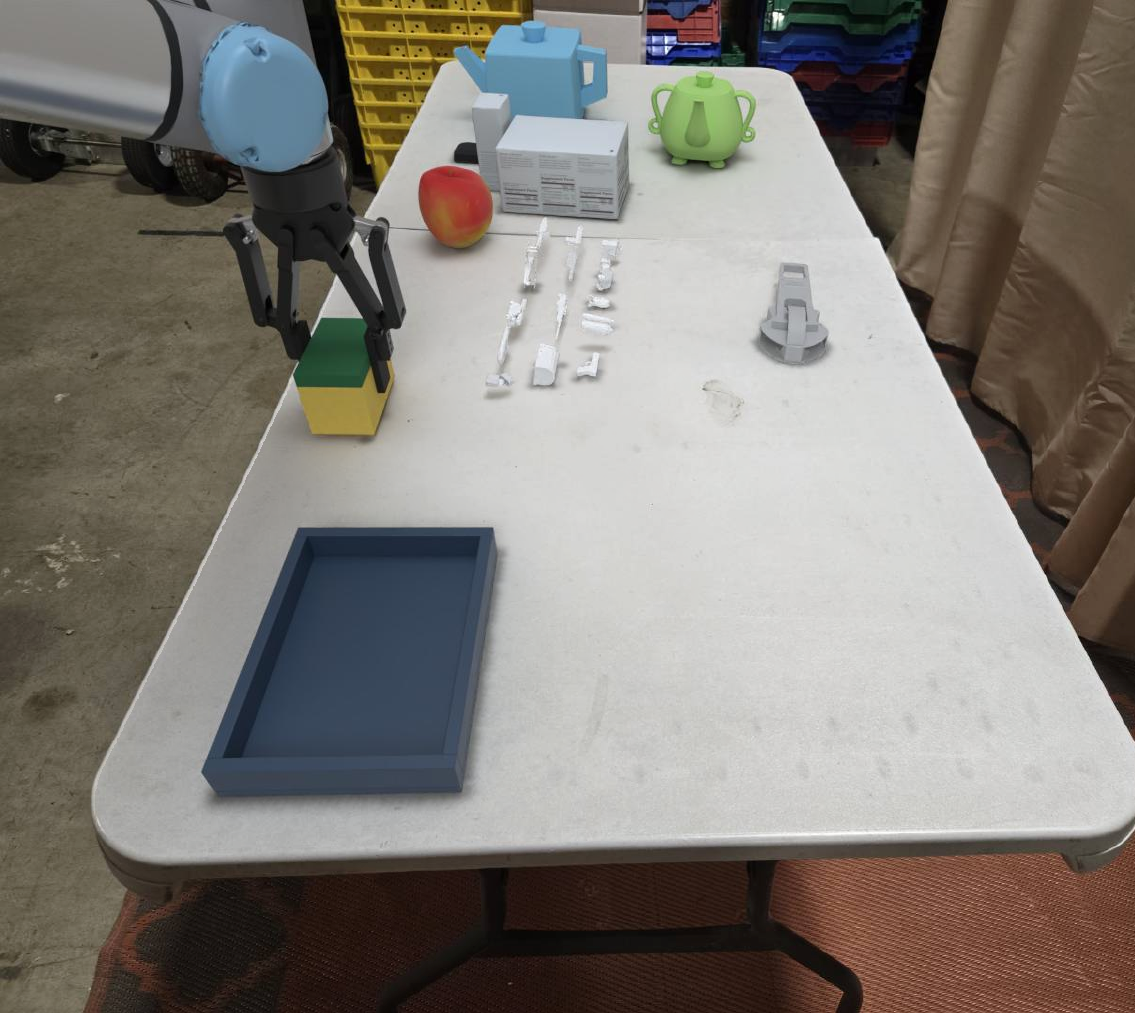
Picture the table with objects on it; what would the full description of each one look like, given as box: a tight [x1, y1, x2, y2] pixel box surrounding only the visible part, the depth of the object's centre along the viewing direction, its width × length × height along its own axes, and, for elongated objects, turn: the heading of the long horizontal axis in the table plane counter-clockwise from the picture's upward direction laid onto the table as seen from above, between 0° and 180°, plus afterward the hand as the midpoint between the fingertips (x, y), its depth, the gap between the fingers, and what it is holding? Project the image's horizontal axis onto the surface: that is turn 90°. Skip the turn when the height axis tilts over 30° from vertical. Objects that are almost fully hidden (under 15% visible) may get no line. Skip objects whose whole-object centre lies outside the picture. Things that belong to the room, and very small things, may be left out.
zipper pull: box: [757, 261, 830, 365], centre depth 101 cm, size 8×18×4 cm, turn 175°
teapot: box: [647, 70, 757, 169], centre depth 133 cm, size 16×14×13 cm
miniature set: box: [485, 217, 623, 389], centre depth 100 cm, size 6×35×12 cm
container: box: [452, 20, 609, 122], centre depth 141 cm, size 17×25×15 cm
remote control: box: [453, 141, 479, 164], centre depth 133 cm, size 5×2×15 cm
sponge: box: [292, 317, 395, 436], centre depth 83 cm, size 10×6×7 cm, turn 2°
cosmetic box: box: [471, 92, 511, 192], centre depth 123 cm, size 6×4×12 cm
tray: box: [200, 526, 498, 798], centre depth 63 cm, size 22×16×3 cm
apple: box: [417, 165, 494, 249], centre depth 110 cm, size 10×10×10 cm
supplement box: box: [495, 115, 630, 220], centre depth 121 cm, size 17×13×9 cm
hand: (349, 384), depth 84 cm, fingers closed on sponge, 6 cm apart
